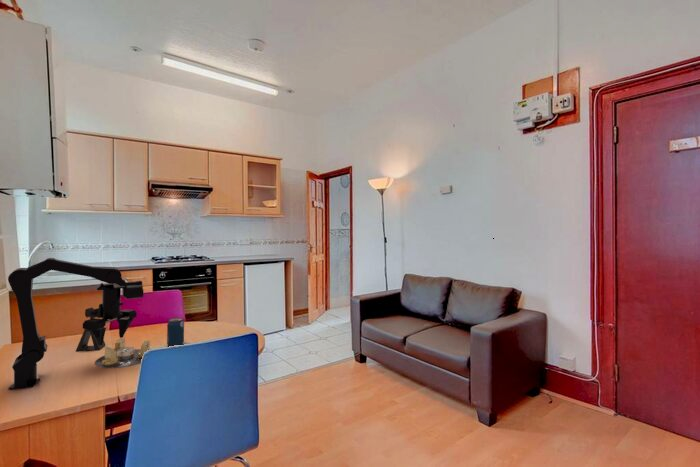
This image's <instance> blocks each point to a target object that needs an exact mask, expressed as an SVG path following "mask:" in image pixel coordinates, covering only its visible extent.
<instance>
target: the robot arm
mask: <svg viewBox="0 0 700 467" xmlns="http://www.w3.org/2000/svg"><path fill="white" fill-rule="evenodd" d="M50 271H54V272H55V271H56V272H61V273H65V274H72V275H79V276H84V277H89V278H93V279H95V280H98V281H100V282H101V283H100V284H99V285H98V286H96V290H97V291H102V294H101V295H102V301H101V303H99V305H98V308H94V307H88V308H86V309H85V310H84V316H85V318H86V320H84V321H83V322H82V329H83V330H84V329H86V330H90V331H91V332H92V333H93V334H94V336H95V338H96V340H97V343H98V345H102V343H103V340H105V334H106V329H107V327H105V326H106V324H107V323H110V322H114V321H117V323H118V336H119V338H124V336H125V334H126V332H127V331H128V329H129V326H130V325H131V323H132V322H133V321H134V320H135V318H137V311H136V310H135V309H127V308H125V309H122V310H121V306H124V302H122V301H121V299H122V298H121V294H122V297H123V298H125V300H131V299H133V300H135V299H143V297H144V288H143V287H144V285H143V280H135V281H127V280H126V279H124V278H123V277H122V272H121V271H120V270H119V269H118V268H117V267H115V266H96V265H95V266H92V265H87V264H82V263H77V262H72V261H67V260H62V259H56V258H54V257H47V258H46V259H44V260H42V261H41V262H38V263H35V264H33V265H30V266H28V267H19V268H16V269H14V270H13V271H12V272H11V273H10V274H9V275H8V278H7V281H8V284H9V286H10V289H11V290H12V293H14V296H15V298H16V302H17V308H18V309H17V310H18V315H19V320H20V321H19V322H20V326H21V333H22V345H21V353H20V354H19V355H18V356H17V357H16V358H15V359H14V362H13V365H12V367H11V368H12V370H13V384H11V385H10V386H9V387H8V389H7V390H15V389H16V390H17V389H29V388H33V387H34V386H36V385H37V384H38V383H39V382H40V381H41V378H38V376H37V375H38V364H37V363H38V362H40V361H42V359H43V358H44V357H45V352H47V350H48V345H47V343H46V342H47V341H46V335H43V336H41V335H40V333H39V329H38V324H37V323H38V322H37V318H36V310H35V305H34V299H33V286H34V279H35V278H38V277H39V276H42V275H44V274H46V273H48V272H50ZM104 283H106V284H104ZM114 284H115V285H114ZM121 289H122V290H121ZM87 318H89V319H87Z"/></svg>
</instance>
